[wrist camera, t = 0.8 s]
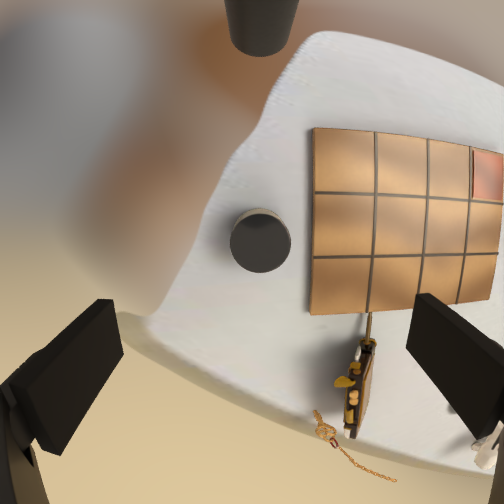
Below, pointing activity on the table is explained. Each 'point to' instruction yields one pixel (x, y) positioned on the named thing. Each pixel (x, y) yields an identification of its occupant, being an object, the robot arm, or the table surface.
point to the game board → (401, 221)
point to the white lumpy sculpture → (487, 449)
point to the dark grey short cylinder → (260, 241)
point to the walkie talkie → (355, 393)
